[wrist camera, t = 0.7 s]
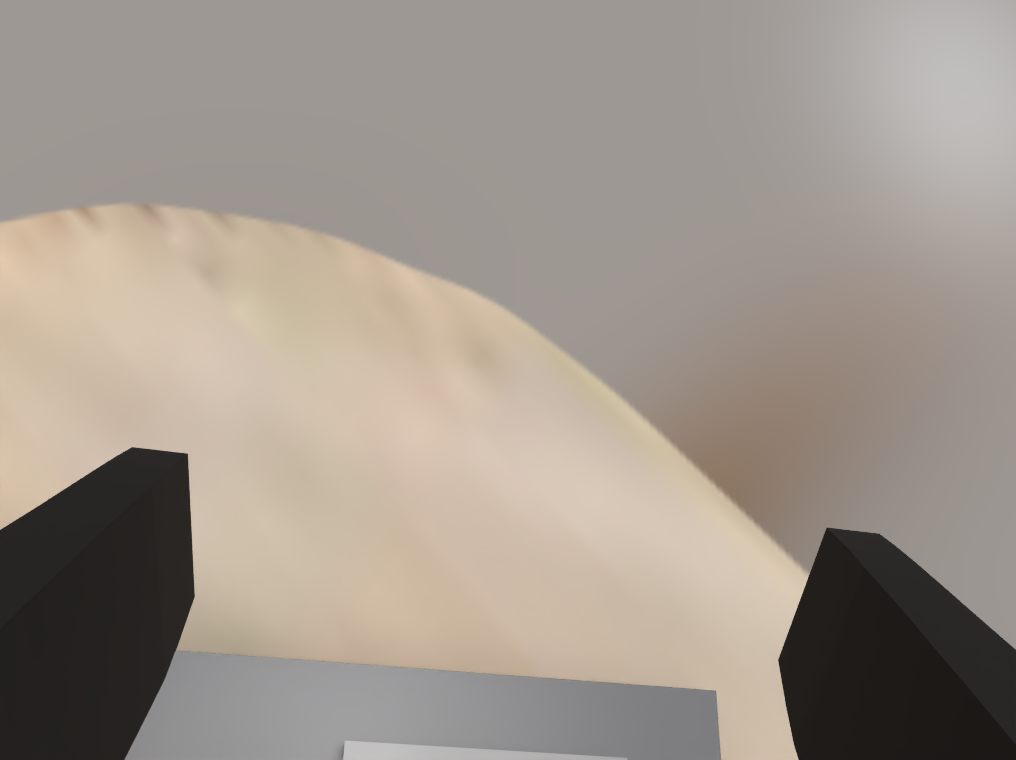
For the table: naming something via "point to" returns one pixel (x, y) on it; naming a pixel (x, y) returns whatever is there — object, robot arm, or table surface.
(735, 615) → the table surface
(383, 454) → the table surface
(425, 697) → the dock board
